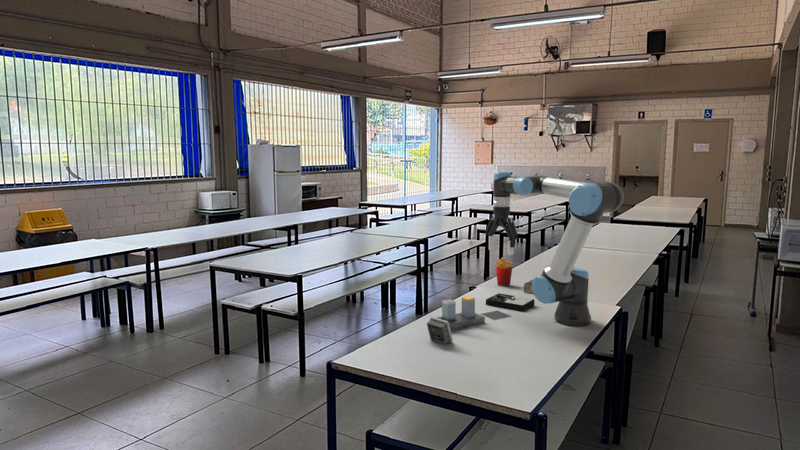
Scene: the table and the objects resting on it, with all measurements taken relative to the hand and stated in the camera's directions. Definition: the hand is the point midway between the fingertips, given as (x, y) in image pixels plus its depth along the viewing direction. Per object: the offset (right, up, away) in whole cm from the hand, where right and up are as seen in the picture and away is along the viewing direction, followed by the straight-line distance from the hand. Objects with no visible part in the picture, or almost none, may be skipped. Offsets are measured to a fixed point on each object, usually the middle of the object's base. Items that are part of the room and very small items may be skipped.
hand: (500, 252), depth 245 cm
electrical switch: (-31, -33, -38) cm, 59 cm away
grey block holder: (-22, -30, -19) cm, 41 cm away
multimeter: (+6, -26, +8) cm, 28 cm away
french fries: (+9, -21, +47) cm, 52 cm away
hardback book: (+34, -22, +37) cm, 55 cm away
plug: (-17, -28, -16) cm, 37 cm away
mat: (-4, -28, -8) cm, 29 cm away
